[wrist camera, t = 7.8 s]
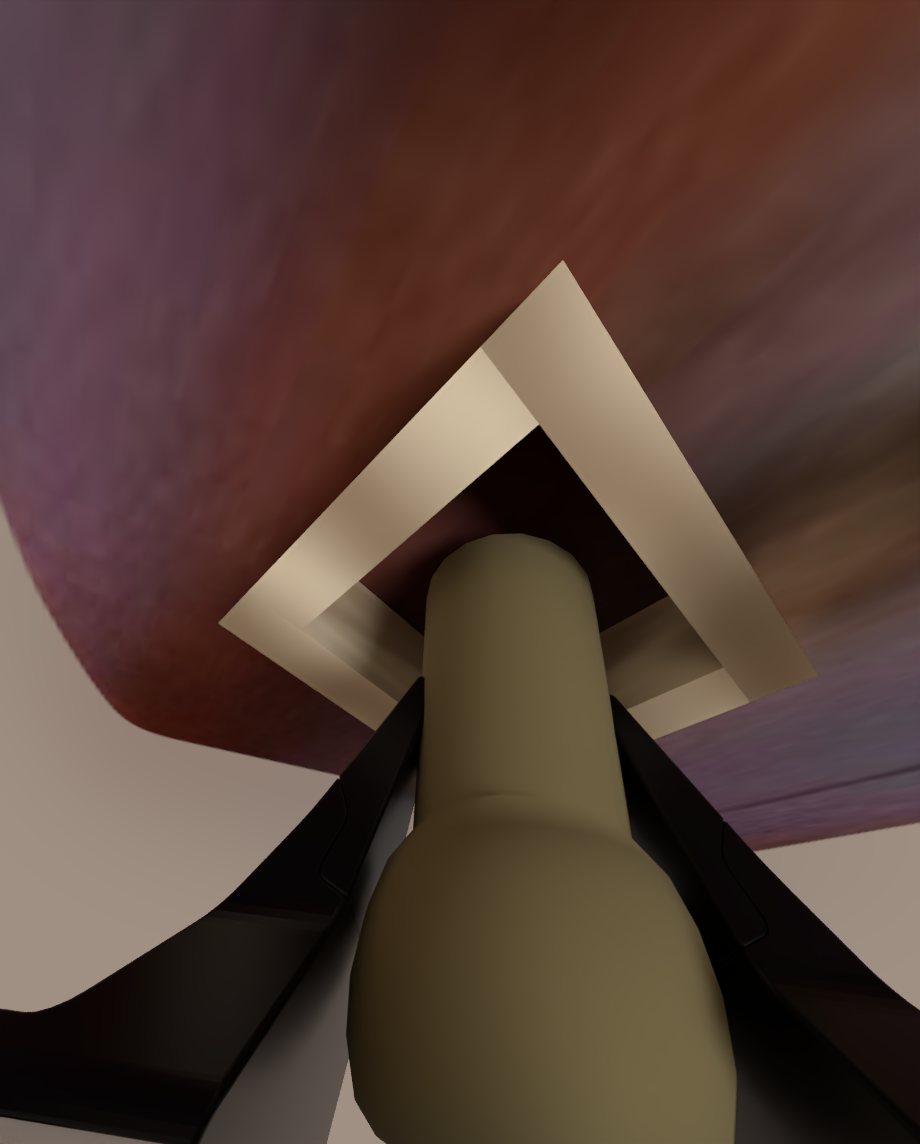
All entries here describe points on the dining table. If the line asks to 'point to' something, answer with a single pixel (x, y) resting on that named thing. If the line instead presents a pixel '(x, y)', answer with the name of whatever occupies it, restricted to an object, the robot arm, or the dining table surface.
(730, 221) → the dining table surface
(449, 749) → the olive round-headed peg
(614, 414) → the socket block
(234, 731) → the dining table surface
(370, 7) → the dining table surface
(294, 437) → the dining table surface
